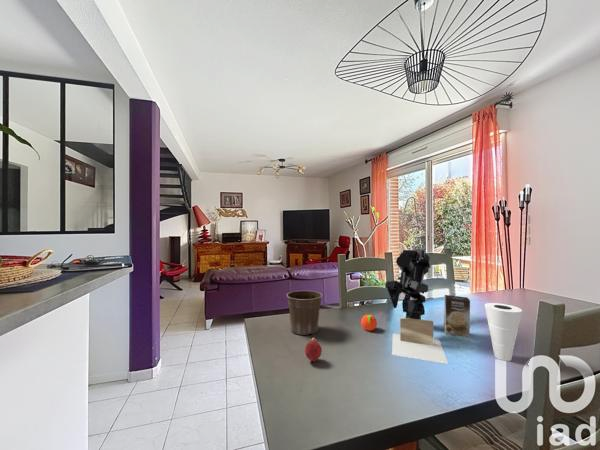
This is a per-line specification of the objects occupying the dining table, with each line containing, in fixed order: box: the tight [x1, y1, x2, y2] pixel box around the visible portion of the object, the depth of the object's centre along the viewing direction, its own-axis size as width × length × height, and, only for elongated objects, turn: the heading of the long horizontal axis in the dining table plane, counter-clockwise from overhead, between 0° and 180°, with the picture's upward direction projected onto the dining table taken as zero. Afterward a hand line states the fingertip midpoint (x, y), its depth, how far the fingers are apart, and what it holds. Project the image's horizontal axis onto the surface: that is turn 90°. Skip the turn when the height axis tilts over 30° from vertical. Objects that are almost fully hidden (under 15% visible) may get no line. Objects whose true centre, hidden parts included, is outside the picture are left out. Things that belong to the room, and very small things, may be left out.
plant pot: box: [286, 290, 323, 336], centre depth 119 cm, size 16×16×16 cm
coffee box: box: [443, 294, 471, 339], centre depth 114 cm, size 9×6×16 cm
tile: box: [399, 316, 434, 345], centre depth 105 cm, size 2×12×9 cm, turn 70°
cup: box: [484, 302, 523, 362], centre depth 94 cm, size 11×11×18 cm
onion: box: [304, 337, 323, 362], centre depth 91 cm, size 6×6×8 cm
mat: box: [391, 333, 449, 365], centre depth 101 cm, size 20×18×1 cm
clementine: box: [360, 314, 378, 332], centre depth 118 cm, size 8×7×7 cm
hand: (402, 311), depth 108 cm, fingers open, 9 cm apart
